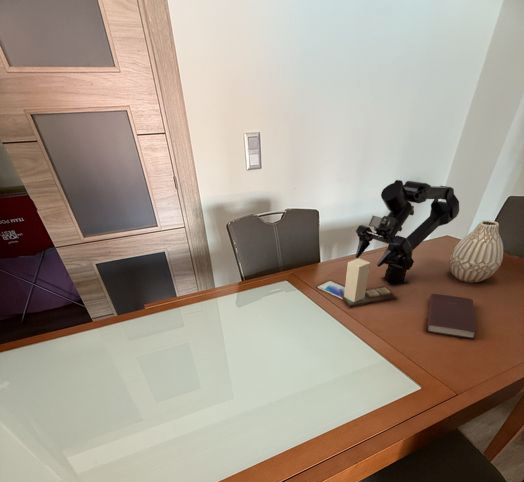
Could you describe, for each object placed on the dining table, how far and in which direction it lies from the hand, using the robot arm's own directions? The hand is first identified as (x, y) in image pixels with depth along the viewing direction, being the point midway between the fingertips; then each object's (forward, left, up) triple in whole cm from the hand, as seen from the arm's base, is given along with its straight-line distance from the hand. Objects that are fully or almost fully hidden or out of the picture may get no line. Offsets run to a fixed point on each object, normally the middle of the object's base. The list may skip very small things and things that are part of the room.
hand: (366, 261), depth 101 cm
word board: (-2, +1, -13) cm, 13 cm away
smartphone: (+6, -7, -14) cm, 17 cm away
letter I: (+3, +1, -12) cm, 13 cm away
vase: (-43, 0, -13) cm, 45 cm away
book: (-19, +21, -13) cm, 32 cm away
